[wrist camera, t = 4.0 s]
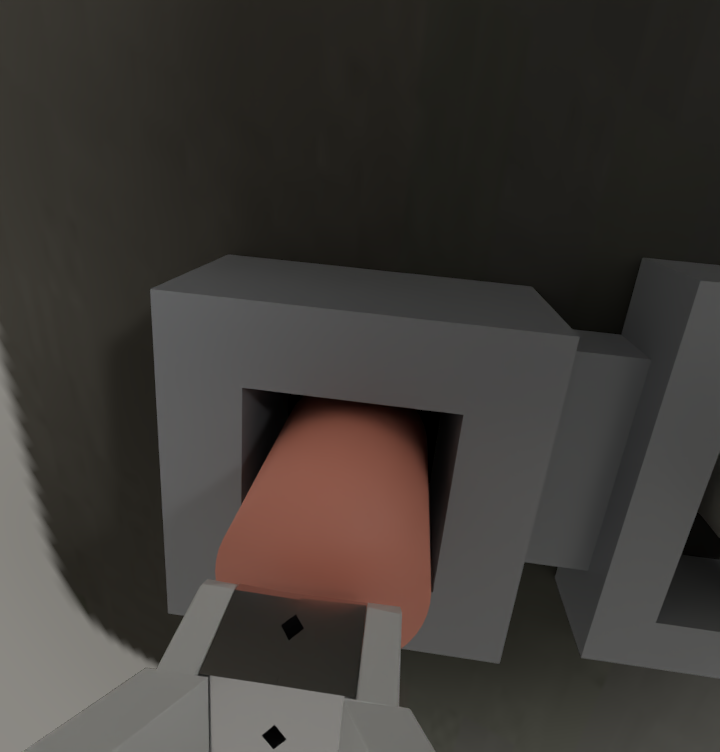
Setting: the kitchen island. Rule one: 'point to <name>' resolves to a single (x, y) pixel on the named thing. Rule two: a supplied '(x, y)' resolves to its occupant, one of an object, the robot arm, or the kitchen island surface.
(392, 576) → the plunger
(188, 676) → the robot arm
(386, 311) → the housing
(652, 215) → the kitchen island surface
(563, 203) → the kitchen island surface
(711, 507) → the cartridge
